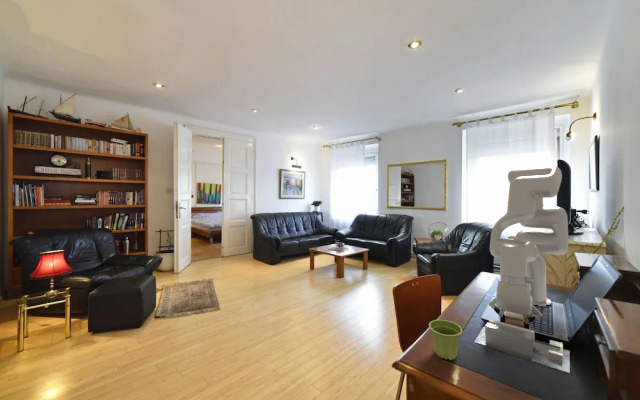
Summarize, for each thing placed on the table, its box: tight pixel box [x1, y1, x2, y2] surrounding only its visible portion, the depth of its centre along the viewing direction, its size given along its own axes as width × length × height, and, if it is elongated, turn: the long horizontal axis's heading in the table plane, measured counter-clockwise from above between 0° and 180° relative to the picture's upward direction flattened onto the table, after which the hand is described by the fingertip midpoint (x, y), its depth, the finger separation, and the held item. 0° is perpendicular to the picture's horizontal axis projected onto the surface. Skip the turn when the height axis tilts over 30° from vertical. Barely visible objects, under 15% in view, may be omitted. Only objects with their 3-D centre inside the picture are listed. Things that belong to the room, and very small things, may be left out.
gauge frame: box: [474, 322, 571, 375], centre depth 83 cm, size 13×23×6 cm, turn 46°
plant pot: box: [428, 319, 463, 361], centre depth 81 cm, size 9×9×9 cm
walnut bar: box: [504, 311, 524, 328], centre depth 91 cm, size 12×5×5 cm, turn 144°
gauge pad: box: [488, 318, 560, 349], centre depth 84 cm, size 2×18×5 cm, turn 46°
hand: (514, 329), depth 91 cm, fingers closed on walnut bar, 5 cm apart
